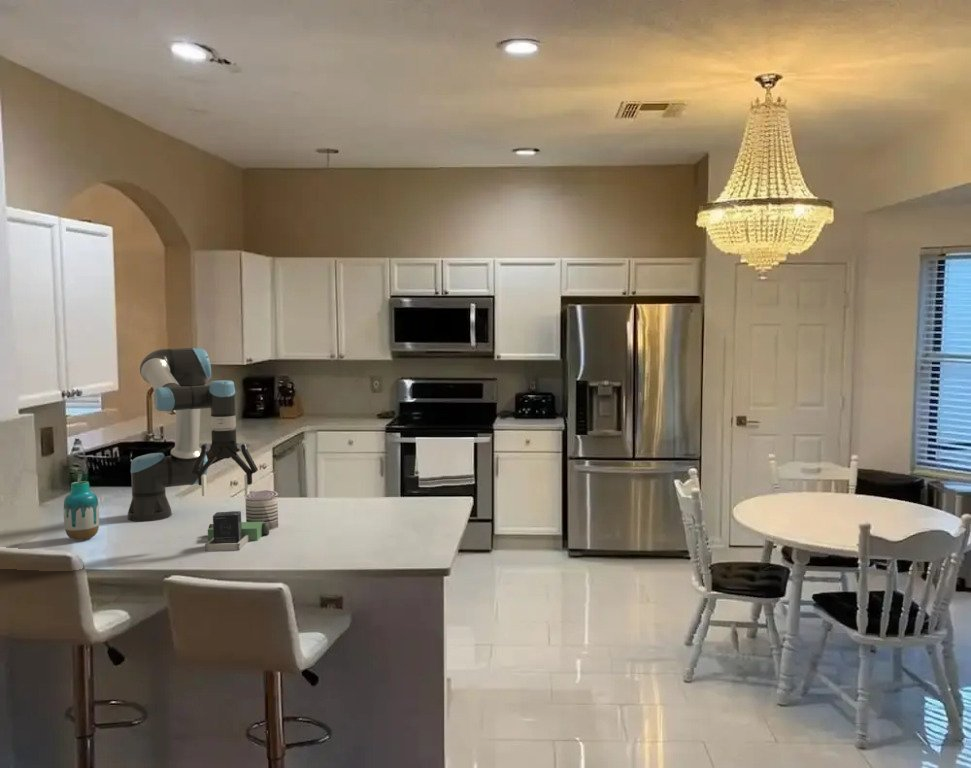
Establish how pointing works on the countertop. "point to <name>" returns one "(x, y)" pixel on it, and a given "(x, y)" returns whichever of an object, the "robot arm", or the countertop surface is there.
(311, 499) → the countertop surface
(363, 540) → the countertop surface
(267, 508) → the can
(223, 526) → the box
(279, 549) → the countertop surface
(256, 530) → the green tray fixture
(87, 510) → the vase
